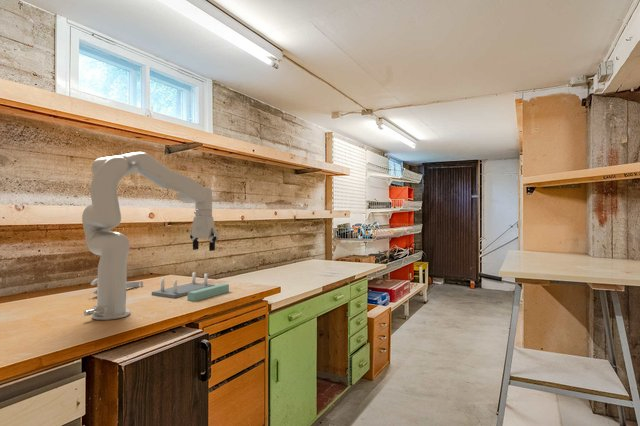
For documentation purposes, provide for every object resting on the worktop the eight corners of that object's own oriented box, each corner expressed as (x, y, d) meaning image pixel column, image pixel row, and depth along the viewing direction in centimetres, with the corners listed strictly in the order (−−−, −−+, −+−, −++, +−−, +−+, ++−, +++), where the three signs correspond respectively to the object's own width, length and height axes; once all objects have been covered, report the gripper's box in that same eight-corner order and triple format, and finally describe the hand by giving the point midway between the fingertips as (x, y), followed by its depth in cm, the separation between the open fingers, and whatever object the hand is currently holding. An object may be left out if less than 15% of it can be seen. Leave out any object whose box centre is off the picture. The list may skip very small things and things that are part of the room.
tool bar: (194, 302, 165) (194, 293, 165) (187, 301, 167) (187, 292, 167) (228, 292, 187) (228, 284, 187) (222, 291, 189) (222, 283, 189)
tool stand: (174, 298, 170) (174, 281, 170) (151, 295, 176) (152, 279, 176) (214, 287, 196) (215, 273, 196) (194, 285, 202) (194, 271, 202)
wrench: (142, 292, 196) (91, 297, 167) (139, 291, 196) (88, 296, 168) (144, 276, 196) (94, 278, 168) (141, 276, 197) (90, 278, 169)
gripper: (183, 213, 175) (183, 249, 176) (213, 214, 168) (213, 251, 169) (194, 213, 182) (194, 248, 183) (223, 213, 175) (223, 250, 176)
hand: (203, 250), depth 176 cm, fingers open, 9 cm apart
